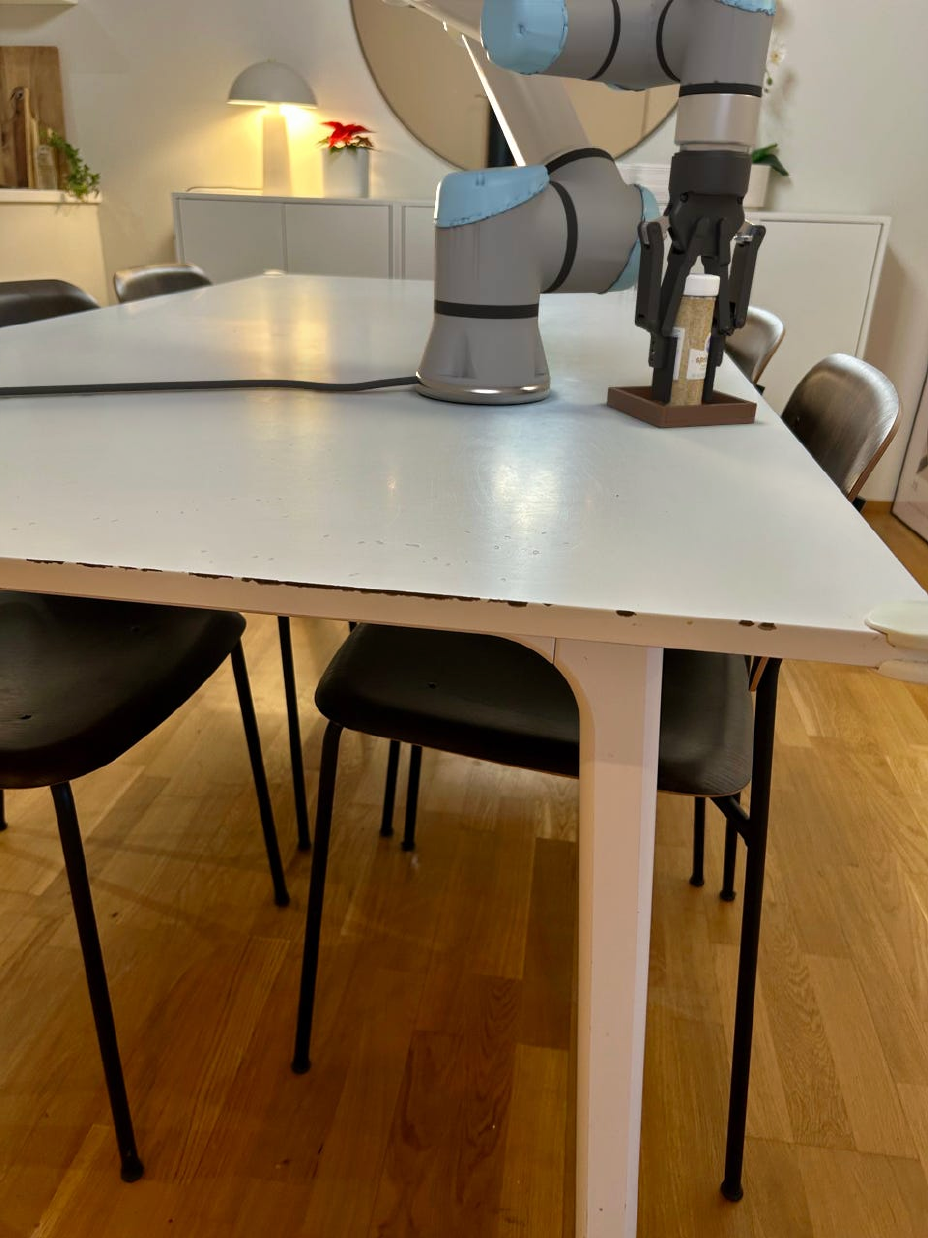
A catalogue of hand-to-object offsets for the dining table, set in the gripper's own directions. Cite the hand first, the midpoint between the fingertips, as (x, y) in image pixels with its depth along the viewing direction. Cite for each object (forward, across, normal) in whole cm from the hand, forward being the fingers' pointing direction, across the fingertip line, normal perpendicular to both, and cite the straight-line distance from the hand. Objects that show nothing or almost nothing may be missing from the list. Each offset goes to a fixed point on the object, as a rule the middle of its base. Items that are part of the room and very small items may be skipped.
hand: (680, 398), depth 95 cm
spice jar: (+1, 0, 0) cm, 1 cm away
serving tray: (+2, 0, 0) cm, 2 cm away
